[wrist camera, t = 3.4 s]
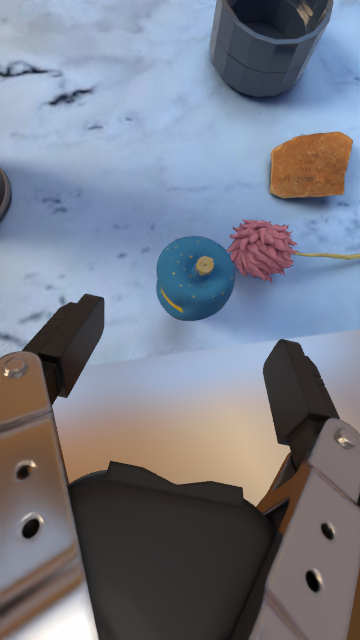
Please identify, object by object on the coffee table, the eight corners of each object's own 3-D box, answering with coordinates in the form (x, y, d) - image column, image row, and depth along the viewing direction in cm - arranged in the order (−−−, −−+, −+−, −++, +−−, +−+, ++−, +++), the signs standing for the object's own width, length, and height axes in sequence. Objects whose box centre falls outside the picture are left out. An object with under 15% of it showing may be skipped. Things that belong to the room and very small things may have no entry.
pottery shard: (345, 140, 31) (361, 121, 28) (350, 207, 30) (368, 194, 27) (266, 134, 30) (275, 114, 28) (268, 203, 29) (279, 189, 26)
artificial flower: (383, 228, 33) (213, 230, 27) (452, 207, 26) (243, 203, 20) (385, 276, 33) (217, 288, 27) (452, 268, 26) (248, 282, 21)
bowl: (216, 105, 30) (230, 46, 24) (202, 22, 31) (212, -55, 25) (308, 100, 31) (342, 41, 25) (291, 19, 32) (320, -55, 26)
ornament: (152, 293, 27) (138, 227, 12) (195, 279, 27) (232, 198, 12) (167, 336, 26) (172, 324, 11) (210, 321, 27) (268, 291, 12)
